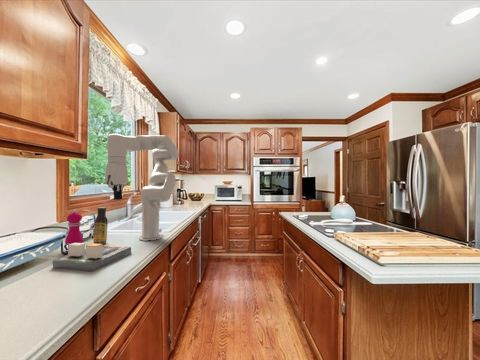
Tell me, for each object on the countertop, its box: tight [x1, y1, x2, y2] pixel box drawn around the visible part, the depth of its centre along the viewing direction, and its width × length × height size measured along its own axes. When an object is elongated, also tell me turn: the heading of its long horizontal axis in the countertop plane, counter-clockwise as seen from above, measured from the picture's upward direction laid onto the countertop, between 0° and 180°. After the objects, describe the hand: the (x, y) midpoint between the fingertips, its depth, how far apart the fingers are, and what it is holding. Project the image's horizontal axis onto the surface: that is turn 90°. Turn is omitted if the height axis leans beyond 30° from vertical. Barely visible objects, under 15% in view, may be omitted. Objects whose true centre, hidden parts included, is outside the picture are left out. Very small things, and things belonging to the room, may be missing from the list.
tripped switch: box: [85, 243, 104, 258], centre depth 90 cm, size 3×5×5 cm, turn 80°
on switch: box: [67, 242, 86, 256], centre depth 92 cm, size 3×5×4 cm, turn 80°
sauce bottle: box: [92, 206, 109, 245], centre depth 121 cm, size 6×6×20 cm
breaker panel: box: [52, 244, 132, 273], centre depth 96 cm, size 22×18×3 cm
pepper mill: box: [64, 209, 84, 245], centre depth 110 cm, size 7×7×20 cm
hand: (118, 199), depth 105 cm, fingers closed
